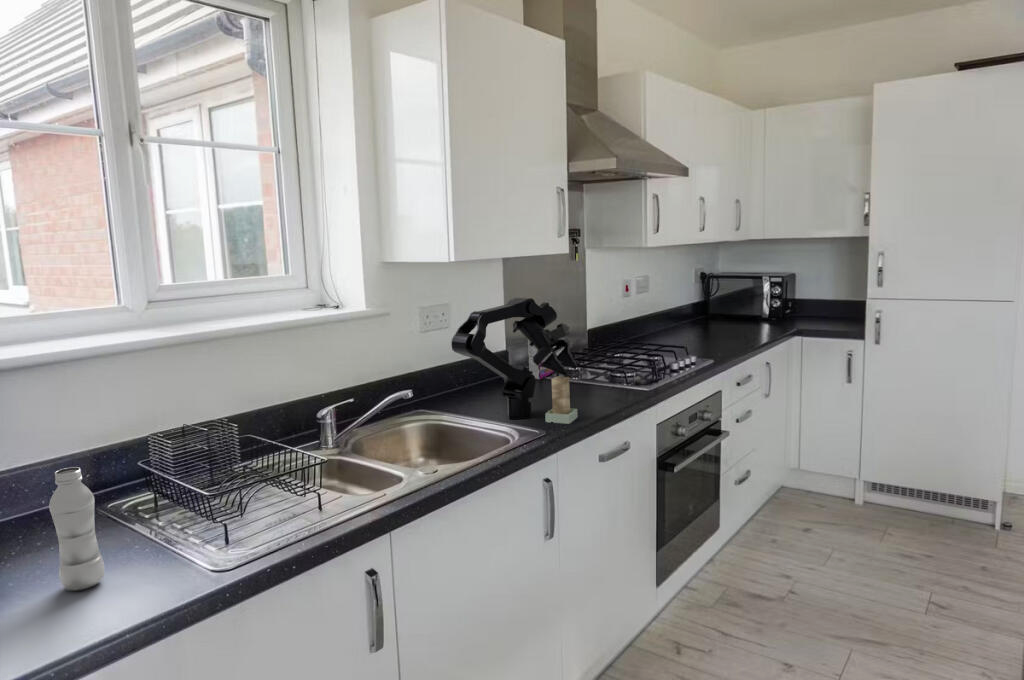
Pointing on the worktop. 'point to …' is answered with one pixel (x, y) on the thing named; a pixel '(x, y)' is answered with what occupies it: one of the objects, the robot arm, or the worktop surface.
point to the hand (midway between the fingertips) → (571, 371)
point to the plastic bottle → (75, 531)
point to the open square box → (561, 417)
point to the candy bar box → (537, 370)
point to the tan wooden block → (561, 395)
